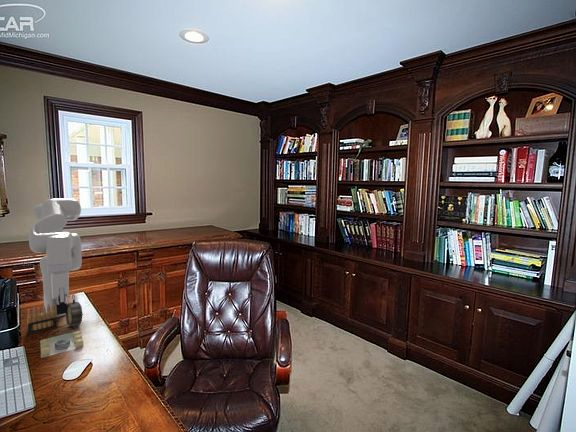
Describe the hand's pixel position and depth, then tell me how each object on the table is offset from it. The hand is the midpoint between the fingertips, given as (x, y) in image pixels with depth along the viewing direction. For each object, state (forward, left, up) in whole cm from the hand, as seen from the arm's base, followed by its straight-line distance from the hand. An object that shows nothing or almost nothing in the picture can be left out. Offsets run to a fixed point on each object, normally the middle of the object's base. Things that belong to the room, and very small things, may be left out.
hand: (62, 313), depth 116 cm
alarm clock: (-28, +6, -19) cm, 34 cm away
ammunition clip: (-33, -6, -19) cm, 39 cm away
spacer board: (-13, 0, -19) cm, 22 cm away
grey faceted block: (-9, 0, -18) cm, 20 cm away
